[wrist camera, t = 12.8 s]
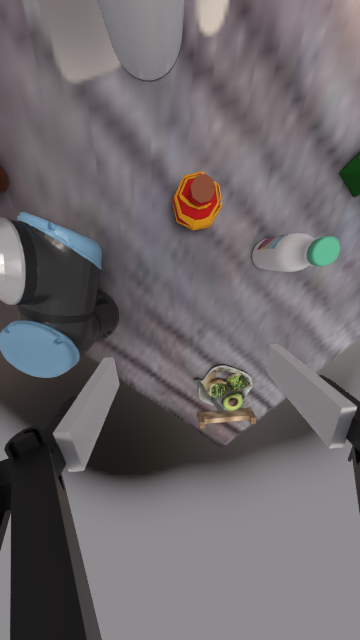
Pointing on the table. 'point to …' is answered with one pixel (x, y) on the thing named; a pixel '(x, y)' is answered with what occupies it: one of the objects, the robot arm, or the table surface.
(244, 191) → the table surface
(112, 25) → the utensil holder
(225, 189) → the table surface
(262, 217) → the table surface
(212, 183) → the potion bottle
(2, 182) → the ice cream bowl
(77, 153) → the table surface
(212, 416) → the stop rail
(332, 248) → the milk bottle
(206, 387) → the salad plate
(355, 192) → the milk carton
